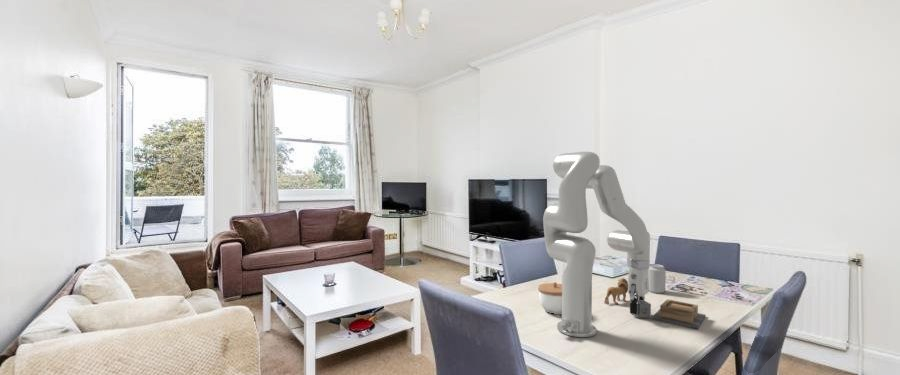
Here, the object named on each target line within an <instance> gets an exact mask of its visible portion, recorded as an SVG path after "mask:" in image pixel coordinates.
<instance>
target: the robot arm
mask: <svg viewBox="0 0 900 375" xmlns="http://www.w3.org/2000/svg"><path fill="white" fill-rule="evenodd" d="M600 163H601V160H600V156H599V155H598V154H597V153H595V152H593V151H576V152H567V153H561V154H558V155H557V156H556V157H554V160H553V163H552V168H553V172H554V173H555V175H557V176H558V177H560V178H561V181H560V185H559V188H558V203H557V202H556V203H552V204H550V205H547V207H546V208H545V210H544V213H543V217H542V223H543V234H544V235H543V237H544V244H545V249H546V252H547V255H548V256H549V257H550V258H551V259H553V260H556V261H558V262H564V263H566V266H565V269H564V271H563V273H562V277H561V284H562V314H561V320H560V321H559V322H557V324H556V328H557V330H558V331H559V332H560V333H562V334H564V335H566V336H570V337H575V338H590V337H593V336H595V335H596V334H597V327H596V325H594V324H592V322H593V320H592V318H593V314H592V311H593V309H592V308H593V306H592V305H593V299H592V298H593V269H594V264H595V259H596V247H595V244H594V243H593V242H592V241H591V240H590V239H588V238H585V237H582V236H577V235H573V234H582V233H583V232H585V231H586V230H587V228H588V225H589V223H588V208H587V198H586V196H587V195H586V194H587V193H586V191H587V189H592V190H593V191H594V194H595V196H596V199H597V202H598V205H599V209H600V211H601V212H602V213H603V214H604V215H607V217H610V218H611V219H613V220H615V221H617V222H618V223H620V224H621V225H622V226H623V227H624V228H625V229H626V230H619V229H618V230H617V229H615V230H613V231H611V232H609V234H608V235H607V238H606V242H607V243H606V244H607V245H608V247H609V248H611V249H612V250H615V251H619V252H623V253H626V267H627V268H628V276H627V277H628V278H627V279H628V280H627V282H628V292H627V293H628V295H629V299H630V300H629V313H630V314H631V313H632V314H636V315H637V304H639V300H646V298H645V295H647V294H648V293H649V275H648V269H649V266H650V264H651V263H650V259H651V258H650V257H651V256H650V255H651V251H650V250H651V234H650V232H649V231H648V230H647V227H646V224H645V222H644V221H643V219H642V218H641V216H639V214H638V213H636V212H635V211H634V210H633V208H632V207H630V206H629V205H628V204H627V203H626V200H625V196H624V193H623V191H622V188H621V185H620V182H619V178H618V176H617V172H616V170H615V169H614V168H613V167H612V166H610V165H607V164H606V165H605V164H600ZM567 233H571V234H567ZM639 313H640V304H639V307H638V315H639ZM632 314H631V315H632Z"/></svg>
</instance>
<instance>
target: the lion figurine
mask: <svg viewBox="0 0 900 375" xmlns="http://www.w3.org/2000/svg"><path fill="white" fill-rule="evenodd" d="M627 293H628V280H627V279H626V278H623V277H620V278H619V279H618V281H617V286H610V287H608V288H607V293H606V297H604V304H607V305H609V304H610V302H609V298H610V296H612V301H613V303H614V304H615V305H619V303H618V302H617V301H620V300H621V298H620V296H621V295H622V298H623V299H622V301H623V302H625V303H626V302H627V300H626V297H627ZM616 300H617V301H616Z"/></svg>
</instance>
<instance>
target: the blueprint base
mask: <svg viewBox="0 0 900 375" xmlns="http://www.w3.org/2000/svg"><path fill="white" fill-rule="evenodd" d="M659 307H660V308H659V309H658V310H657V311H656V312H655V313H654V314H653V315H651V316H652V317H651V319H652V320H655V321H657V322H658V321H659V322H663V323H668V324H672V325H675V326H681V327H684V328H688V329H693V330H699V328H700V326H701V325H702V323H703V322H704V320H705V318H706V314H704V313H701V312H700V313H699V312H698V310H699V305H697V304H694V303H689V302H684V301H683V302H682V301H678V300H673V299H666V300H664V302H662V304H660V306H659Z"/></svg>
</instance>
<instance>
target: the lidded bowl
mask: <svg viewBox="0 0 900 375" xmlns="http://www.w3.org/2000/svg"><path fill="white" fill-rule="evenodd" d="M537 290H538V300H539V304H540V306H541V307H542V308H543V309H544V311H545V310H546V311H547V312H546V311H545V312H546V313H548V312H549V313H548V314H551V313H554V314H553V315H562V283H557V282H556V281H555V282H549V283H548V282H546V283H541V284H539V285H538V287H537Z"/></svg>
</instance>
